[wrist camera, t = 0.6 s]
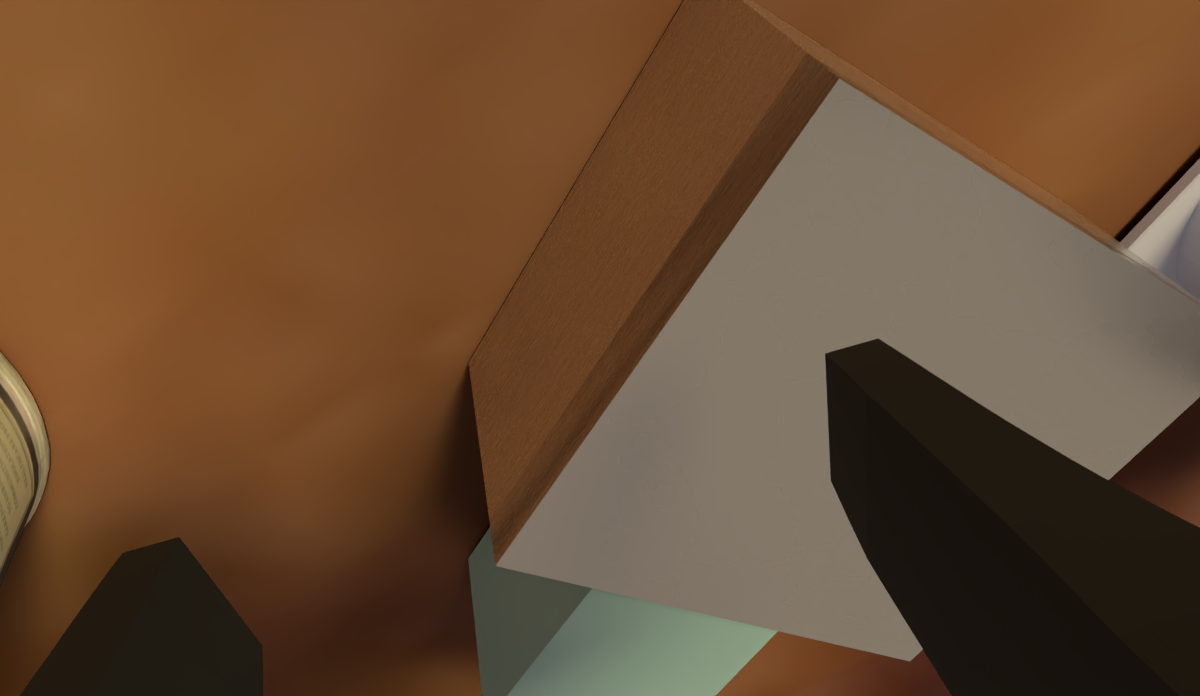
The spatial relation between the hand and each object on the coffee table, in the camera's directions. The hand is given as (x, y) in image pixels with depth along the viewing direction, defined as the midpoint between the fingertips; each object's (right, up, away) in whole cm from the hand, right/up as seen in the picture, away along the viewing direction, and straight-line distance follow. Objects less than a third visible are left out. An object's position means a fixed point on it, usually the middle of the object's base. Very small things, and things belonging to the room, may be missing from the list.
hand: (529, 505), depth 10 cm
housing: (+5, +3, +11) cm, 13 cm away
